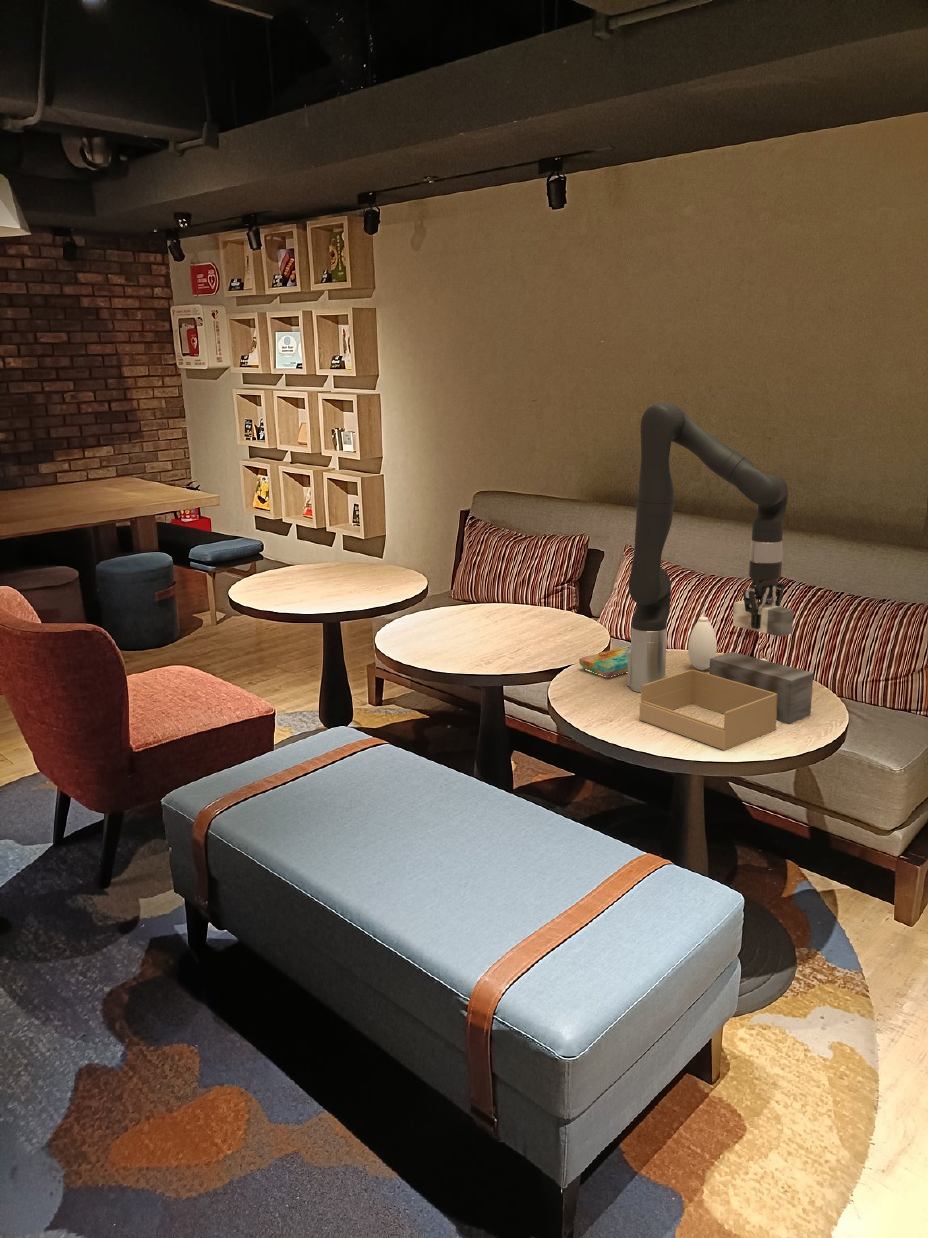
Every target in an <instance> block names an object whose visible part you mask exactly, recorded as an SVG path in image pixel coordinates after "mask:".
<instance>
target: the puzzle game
mask: <svg viewBox="0 0 928 1238" xmlns="http://www.w3.org/2000/svg"><path fill="white" fill-rule="evenodd" d="M629 652H631V645H626V646H623V647H619V648H615V649H611V650H606V651H599V653H594V654H590V655H586V656H581V657H580V658H579V659H578V663H579V665H580V666H581V667H582V669H583V670H584V669H587V670H590V671H592V672H594V673H597V674H601V675H603V676H606V677H608V678H607V679H610V678H609V677H611V676H614V675H618V674H622V673H625V674H627V673H626V672H628V653H629ZM622 675H623V674H622ZM618 676H619V675H618ZM611 678H612V677H611Z"/></svg>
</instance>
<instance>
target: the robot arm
mask: <svg viewBox="0 0 928 1238" xmlns="http://www.w3.org/2000/svg"><path fill="white" fill-rule="evenodd" d="M672 443H676V444H677V445H680V446H681V447H683V448H685V449H687V450H688V451H690V452H691V453H692V454H694V455H695V456H696V457H697V458H698V459H699V460H700V461H701V462H702V463H703V464H704V465H705V467H707V468H708V469H709V470H710V471H711V472H713V473H714V474H715V475H717V476H719V477H720V478H722V479H723V480H725V481H726V482H727V483H729V484H730V485H732V486H734V487H735V488H736V489H738V490H739V492H741V494H742V495H744V496H745V497H746V498H747V499H748V500H750V502H751V503H754V504H756V505H757V513H756V516H755V517H754V519H753V522H752V528H751V544H750V549H749V563H748V566H749V567H748V576H749V578H751V581H752V582H751V585H750V588H748V589H743V591H742V595H743V600H744V604H745V611H746V612H750V613H751V627H752V628H754V629H759V628H760V623H761V610H762V606H764V605H765V604H769V605H774V606H779V607H781V603H782V598H783V594H784V590H785V586H786V584H785V583H784V582H779V581H778V580H779V579H780V578H782V565H783V533H784V527H783V526H784V519H785V515H786V514H785V513H786V509H787V504H788V499H789V486H788V483H787V481H786V480H785V479H784V477H782V476H780V475H777V474H770V475H767V474H764V473H763V472H761V471H760V470H759V469H757V468H756V466H755V464H754V462H752V460H750V459H749V458H747V457H746V456H745V455H742V454H741V453H739V452H738V451H736V450H734V449H733V448H732V447H730V446H729V445H727V444H725V443H724V442H722V441H721V440H719V439H718V438H716V437H715V436H713V435H712V434H710V433H709V432H708V431H707V430H705V429H704V428H703V427H701V426H700V425H699V424H698V423H697V422H696V421H694V419H692V418H691V417H690V416H689V415H688V414H687V413H686V412H684V410H683V409H681V408H680V407H679V406H677V405H676V404H674V403H666V402H665V403H656V404H652V405H651V406H648V407H647V408H646V410H645V411H644V412H643V414H642V416H641V421H640V470H639V480H638V491H637V502H636V511H635V515H636V517H635V530H634V531H635V534H634V549H633V557H632V563H631V569H630V573H629V579H628V592H629V596H630V598H631V599H632V600H633V601H634V603H635V604H636V605H635V610H634V613H633V614H632V616H631V631H630V632H631V635H630V637H631V638H630V640H631V643H630V647H631V652H629V653H628V673H627V679H626V680H627V687H628V686H629V687H628V688H630V690H632V691H634V692H636V693H640V694H641V685H644V684H648V683H651V682H654V681H657V680H660V679H663V678H666V664H667V663H666V660H667V659H666V658H667V656H666V655H667V632H668V631H667V629H668V628H667V625H668V620H669V617H670V613H671V611H670V609H671V595H672V581H671V578H670V575H669V574H668V571H667V570H665V569H664V568H663V567H662V566H661V565H662V555H663V550H664V546H665V543H666V541H667V538H668V536H669V532H670V529H671V526H672V522H673V517H674V516H673V515H674V508H675V506H674V505H675V489H674V483H673V479H672V475H671V469H670V456H671V455H670V454H671V453H670V452H671V446H672ZM749 604H750V605H751V607H750V605H749ZM756 604H758V608H756Z"/></svg>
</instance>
